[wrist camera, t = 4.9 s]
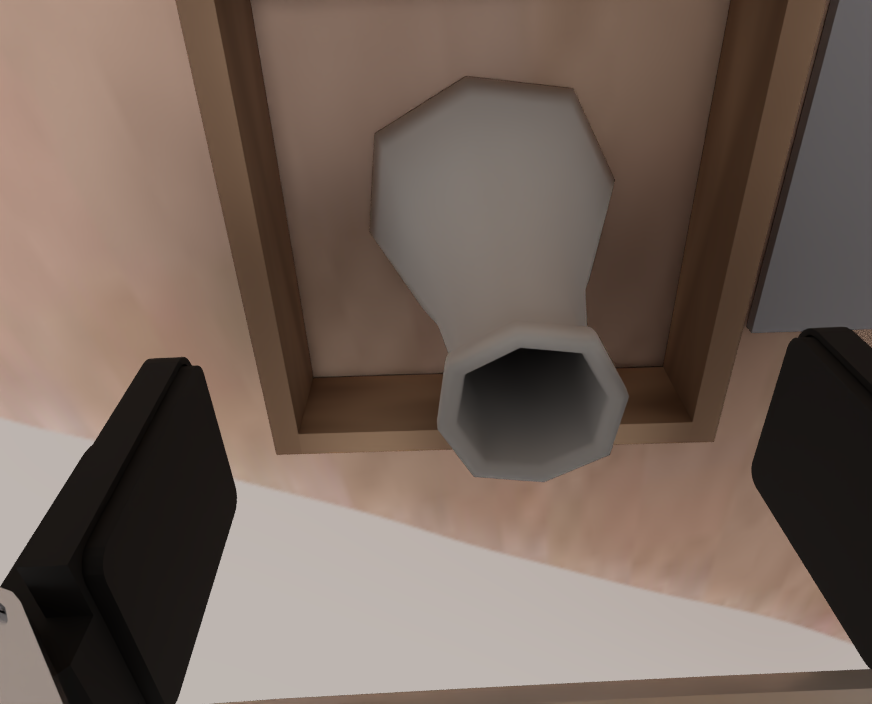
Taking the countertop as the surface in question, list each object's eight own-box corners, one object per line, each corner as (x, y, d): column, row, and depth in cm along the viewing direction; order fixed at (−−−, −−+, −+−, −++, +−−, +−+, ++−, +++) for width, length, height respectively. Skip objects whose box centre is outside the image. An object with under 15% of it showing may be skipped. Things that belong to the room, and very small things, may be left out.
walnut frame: (780, -86, 15) (849, -89, 13) (682, 385, 23) (713, 441, 20) (206, -61, 16) (162, -60, 13) (293, 397, 23) (276, 454, 20)
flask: (602, 42, 17) (772, 151, 8) (620, 286, 21) (748, 529, 12) (334, 105, 18) (244, 261, 9) (399, 328, 21) (377, 584, 13)
